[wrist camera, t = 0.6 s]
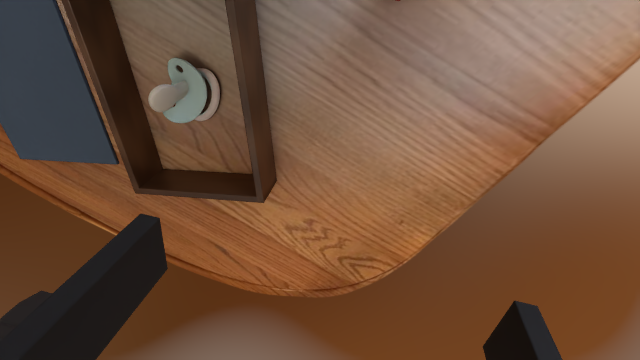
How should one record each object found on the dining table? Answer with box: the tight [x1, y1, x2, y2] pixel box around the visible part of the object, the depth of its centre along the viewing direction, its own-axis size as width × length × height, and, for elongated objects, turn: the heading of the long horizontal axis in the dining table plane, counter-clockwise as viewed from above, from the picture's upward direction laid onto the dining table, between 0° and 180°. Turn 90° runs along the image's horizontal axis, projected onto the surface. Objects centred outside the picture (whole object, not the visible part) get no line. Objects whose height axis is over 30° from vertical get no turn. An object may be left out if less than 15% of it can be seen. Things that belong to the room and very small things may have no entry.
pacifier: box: [148, 58, 220, 123], centre depth 34 cm, size 7×6×6 cm
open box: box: [62, 0, 277, 203], centre depth 35 cm, size 23×17×5 cm
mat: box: [0, 0, 119, 164], centre depth 40 cm, size 22×16×1 cm
